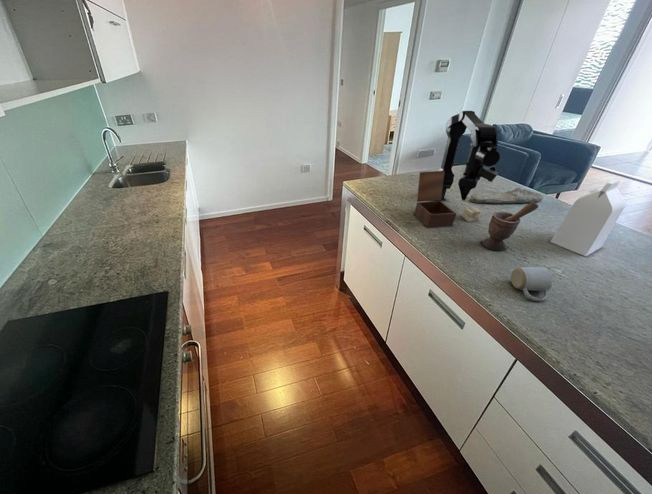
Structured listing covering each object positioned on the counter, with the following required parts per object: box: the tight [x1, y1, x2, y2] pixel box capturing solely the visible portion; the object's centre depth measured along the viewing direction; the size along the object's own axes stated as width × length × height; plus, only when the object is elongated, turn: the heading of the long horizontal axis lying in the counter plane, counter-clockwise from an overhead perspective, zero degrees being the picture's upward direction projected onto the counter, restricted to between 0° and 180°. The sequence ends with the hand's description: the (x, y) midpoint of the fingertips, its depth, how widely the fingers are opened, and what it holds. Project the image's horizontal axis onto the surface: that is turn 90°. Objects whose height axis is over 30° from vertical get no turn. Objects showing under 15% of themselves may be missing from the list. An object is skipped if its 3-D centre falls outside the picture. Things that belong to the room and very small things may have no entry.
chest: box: [413, 200, 457, 229], centre depth 133 cm, size 13×11×6 cm
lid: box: [416, 170, 445, 203], centre depth 134 cm, size 13×11×1 cm
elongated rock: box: [470, 187, 544, 205], centre depth 149 cm, size 35×5×10 cm
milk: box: [550, 179, 627, 257], centre depth 108 cm, size 12×12×26 cm
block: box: [461, 207, 482, 222], centre depth 133 cm, size 5×5×5 cm
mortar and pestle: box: [482, 202, 539, 252], centre depth 110 cm, size 12×9×20 cm
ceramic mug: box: [510, 266, 553, 302], centre depth 92 cm, size 11×8×8 cm
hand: (465, 196), depth 125 cm, fingers open, 9 cm apart
